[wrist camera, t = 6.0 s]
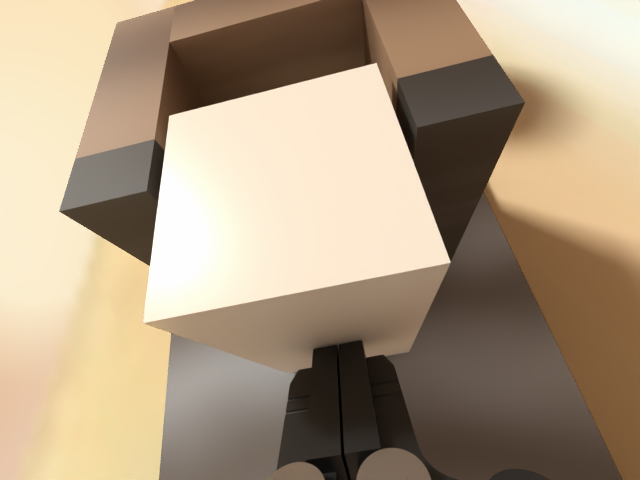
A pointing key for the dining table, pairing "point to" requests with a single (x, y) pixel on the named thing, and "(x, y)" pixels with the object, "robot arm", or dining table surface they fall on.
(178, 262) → the peg
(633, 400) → the dining table surface
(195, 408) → the u-shaped block stand
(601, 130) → the dining table surface
